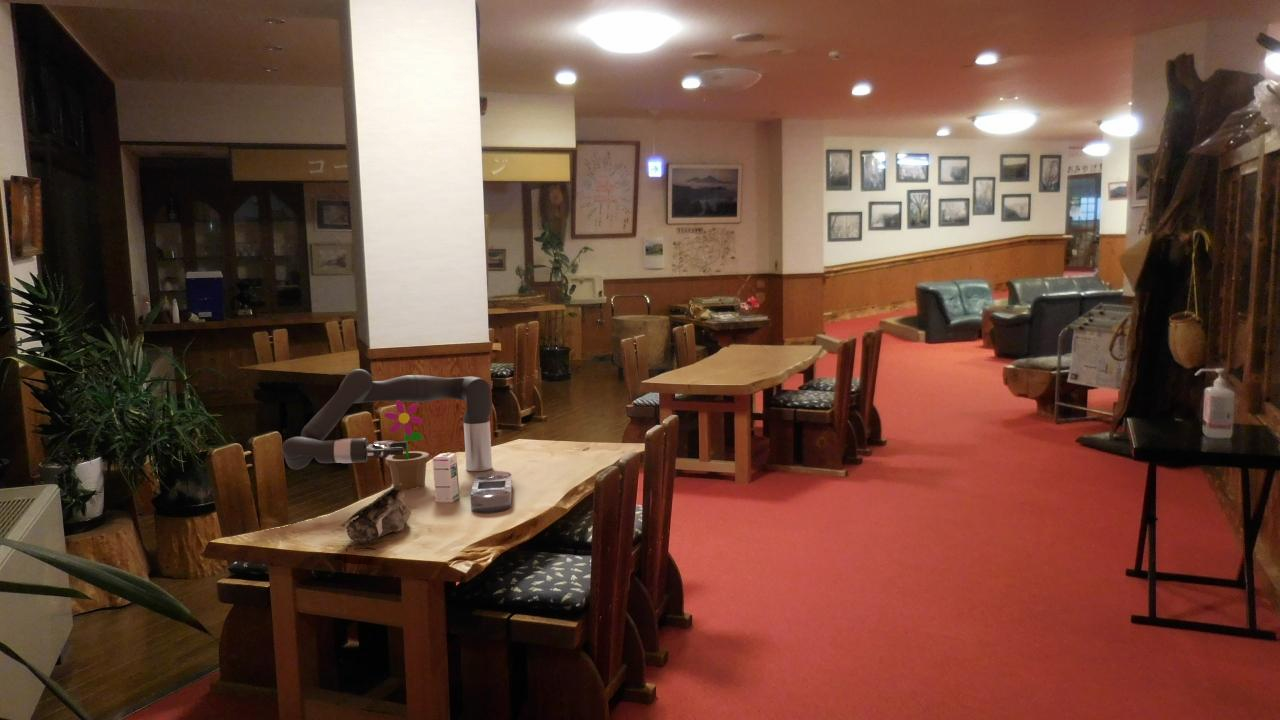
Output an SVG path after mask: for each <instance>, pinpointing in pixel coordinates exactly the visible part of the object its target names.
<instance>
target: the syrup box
mask: <svg viewBox="0 0 1280 720" xmlns="http://www.w3.org/2000/svg"><path fill="white" fill-rule="evenodd" d="M457 458H458V457H457V454H456V453H453V452H452V453H451V452H450V453H449V452H447V453H444V452H443V453H439V454H437V455H436V456H434V457H433V458H432V466H433V467H432V469H433V481H434V494H435V502H436V503H446V504H447V503H454V502H455V501H456V500H458V499H459V498H460V485H459V471H458V469H459V468H458V459H457Z"/></svg>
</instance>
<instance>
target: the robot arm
mask: <svg viewBox="0 0 1280 720" xmlns="http://www.w3.org/2000/svg"><path fill="white" fill-rule="evenodd" d="M446 399H448V400H459V401H466V411H465V413H464V414H463V417H462V418H463V419H462V420H463V433H464V450H465V451H464V452H465V455H464V456H465V469H466V471H468V472H485V471H488V470H492V469H493V458H492V456H493V455H492V436H491V422H490V416H491V414H492V391H491V385H490V384H489V382H488V381H487V380H486V379H484V378H481V377H477V376H474V375H473V376H470V375H469V376H463V377H440V376H433V375H422V374H421V375H420V374H408V375H401V376H398V377H394V378H389V379H385V380H374V379H373V377H372V375H371V374H370V372H368V371H367V370H366V369H363V368H356V369H352V370H351V371H349V372H348V373H347V374H345V376H344V378H343V379H342V381H341V383H340V384H339V387H338V389H337V391H336V392H335V393H334V395H333V396H331V398H330V399H329V400H328V401H327V402H326V404H324V405H323V407H321V408H320V409H319V410H318V411H317V412H316V414H315V415H313V417H312V418H311V419H310V420H309V422H307V423H306V425H304V427H303V428H302V429H301V432H300V436H293V437H290V438H287V439H286V440H285V441H283V443H282V446H281V451H282V455H283V456H284V460H285V463H286V464H287V466H288V468H290V469H292V470H301V469H303V468H305V467H306V466H308V465H309V464H310V462H311V461H312V460H313V458H314V459H315V461H317V462H318V463H319V464H333V463H334V464H335V463H337V464H339V463H341V464H352V463H366V462H368V461H369V459H379V458H380V459H381V458H384V459H385V458H386V457H387V456H390V455H402V454H403V452H404V450H405V449H406V448H407V442H405V441H394V439H393V440H392V439H391V440H375V441H373V443H369V439H368V438H367V437H354V438H353V437H351V438H341V439H329V440H328V439H327V440H325V439H326V438H327V437H328V436H329V434H330V433H331V432H332V431H333V430H334V428H335V427H336V426H337V424H338V423H339V422H340V420H341V418H343V416H344V415H345V413H346V412H347V411H348V410H349V408H351V406H352V405H353V404H363V403H365V404H366V403H373V402H375V403H376V402H397V400H400V401H401V402H410V403H425V402H427V403H429V402H434V401H439V400H446Z"/></svg>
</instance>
